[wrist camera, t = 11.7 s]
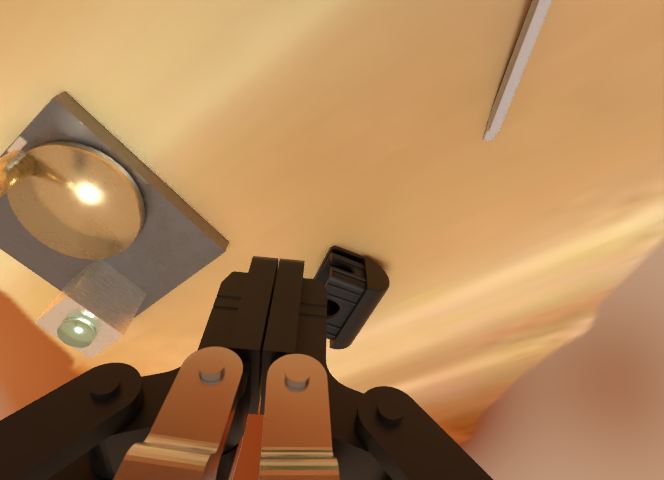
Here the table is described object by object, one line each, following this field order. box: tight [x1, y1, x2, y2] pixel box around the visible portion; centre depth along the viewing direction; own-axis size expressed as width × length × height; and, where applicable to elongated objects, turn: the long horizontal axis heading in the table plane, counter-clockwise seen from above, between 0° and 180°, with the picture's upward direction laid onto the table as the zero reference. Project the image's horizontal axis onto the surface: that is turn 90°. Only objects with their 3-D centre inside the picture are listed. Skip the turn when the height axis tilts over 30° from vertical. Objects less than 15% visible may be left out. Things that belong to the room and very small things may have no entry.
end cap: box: [314, 246, 389, 349], centre depth 52 cm, size 10×7×7 cm
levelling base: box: [0, 92, 229, 359], centre depth 46 cm, size 22×20×10 cm
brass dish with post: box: [0, 141, 145, 260], centre depth 42 cm, size 13×13×10 cm
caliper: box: [483, 0, 552, 141], centre depth 37 cm, size 20×1×6 cm, turn 174°
